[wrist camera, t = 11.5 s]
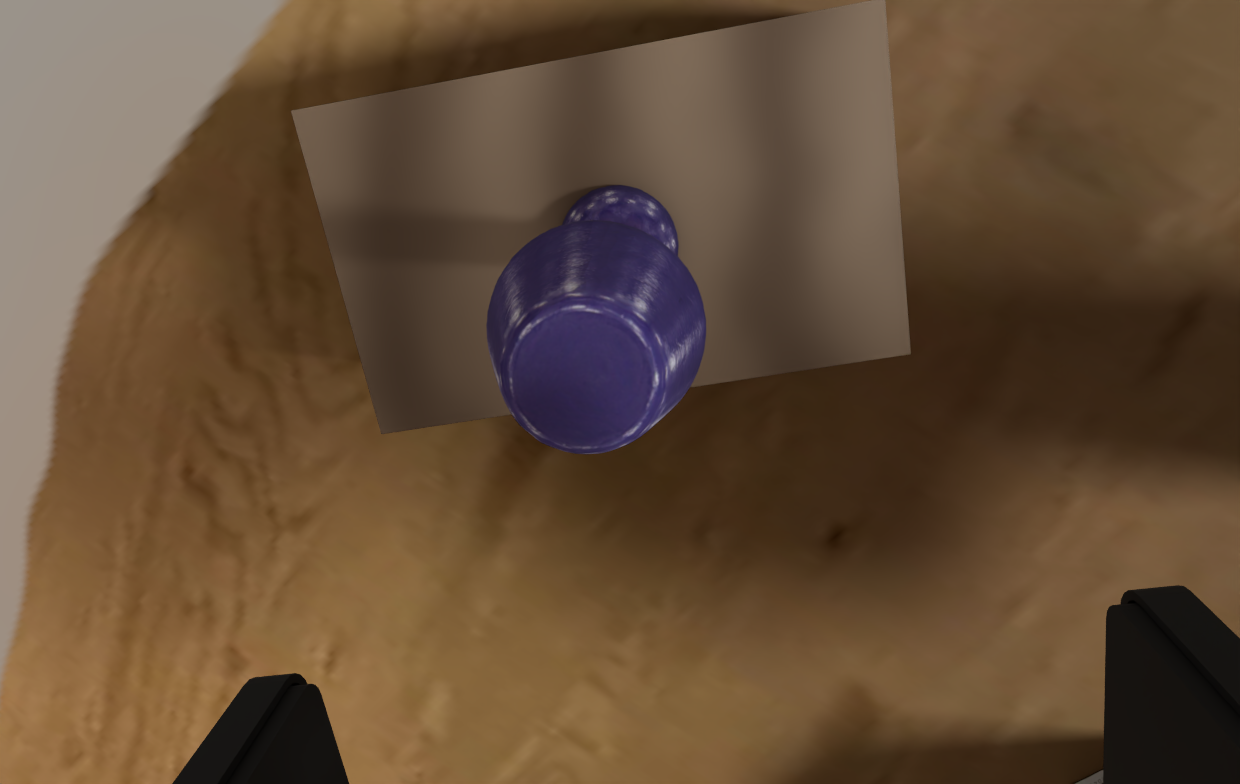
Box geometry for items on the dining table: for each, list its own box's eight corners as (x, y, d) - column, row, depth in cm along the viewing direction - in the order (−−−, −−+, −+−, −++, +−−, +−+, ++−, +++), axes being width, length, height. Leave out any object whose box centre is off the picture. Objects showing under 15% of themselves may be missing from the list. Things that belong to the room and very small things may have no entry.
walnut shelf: (837, 17, 36) (884, -3, 28) (862, 303, 39) (910, 353, 32) (365, 106, 38) (291, 110, 30) (432, 371, 41) (381, 433, 34)
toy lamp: (537, 189, 31) (408, 297, 15) (667, 149, 30) (676, 218, 14) (578, 318, 32) (501, 542, 16) (703, 283, 31) (748, 481, 16)
